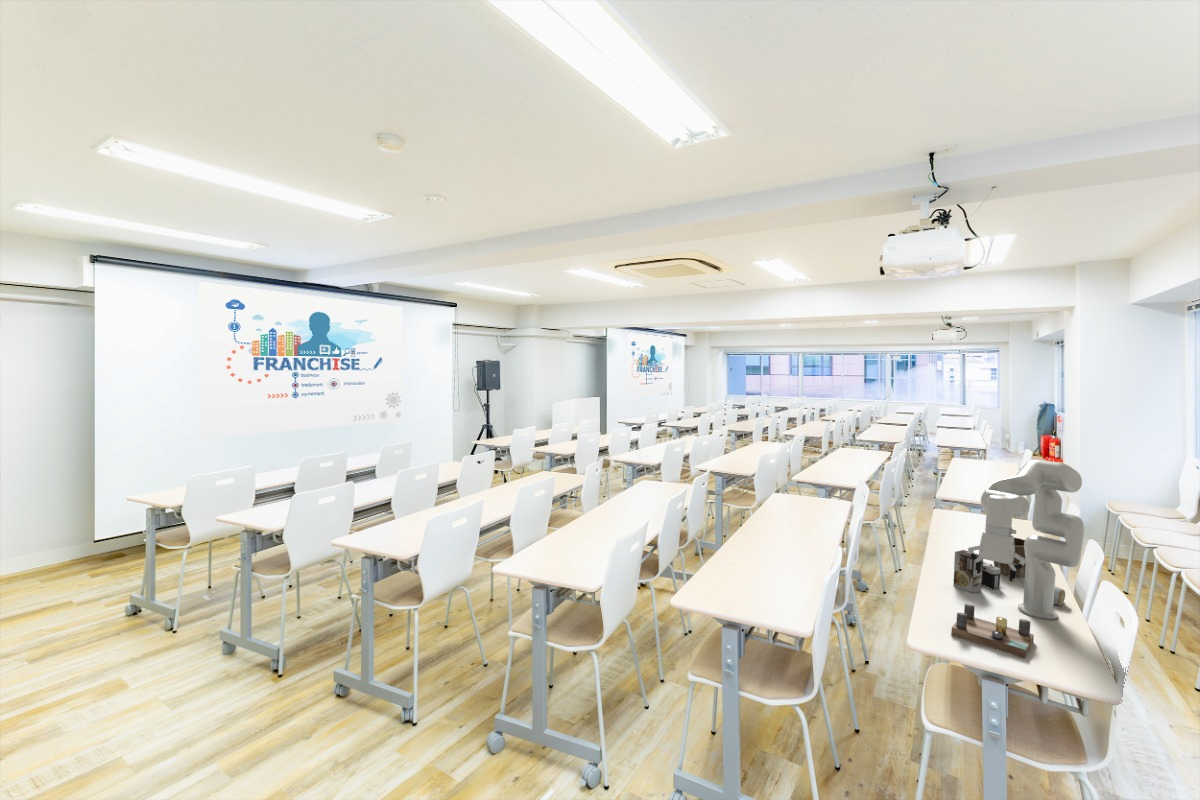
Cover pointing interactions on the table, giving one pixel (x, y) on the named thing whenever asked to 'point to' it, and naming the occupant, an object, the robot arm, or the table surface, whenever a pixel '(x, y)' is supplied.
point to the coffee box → (967, 572)
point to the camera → (990, 576)
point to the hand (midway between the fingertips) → (994, 576)
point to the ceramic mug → (1059, 596)
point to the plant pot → (1020, 551)
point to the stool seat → (982, 633)
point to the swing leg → (1000, 628)
